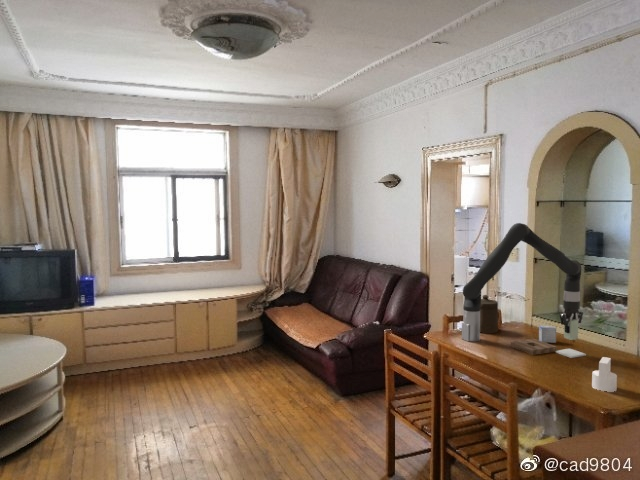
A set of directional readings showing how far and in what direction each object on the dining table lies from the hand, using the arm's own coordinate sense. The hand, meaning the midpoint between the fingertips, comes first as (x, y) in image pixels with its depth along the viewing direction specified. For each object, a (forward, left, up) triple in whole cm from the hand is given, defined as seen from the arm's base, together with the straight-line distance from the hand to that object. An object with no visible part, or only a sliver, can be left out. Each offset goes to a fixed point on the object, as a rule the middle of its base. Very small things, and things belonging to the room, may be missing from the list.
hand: (570, 332), depth 246 cm
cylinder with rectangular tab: (-24, -39, -12) cm, 47 cm away
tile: (0, 0, -12) cm, 12 cm away
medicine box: (+6, +21, -12) cm, 25 cm away
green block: (0, 0, -3) cm, 3 cm away
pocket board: (-11, +14, -12) cm, 21 cm away
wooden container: (-10, +54, -12) cm, 56 cm away
